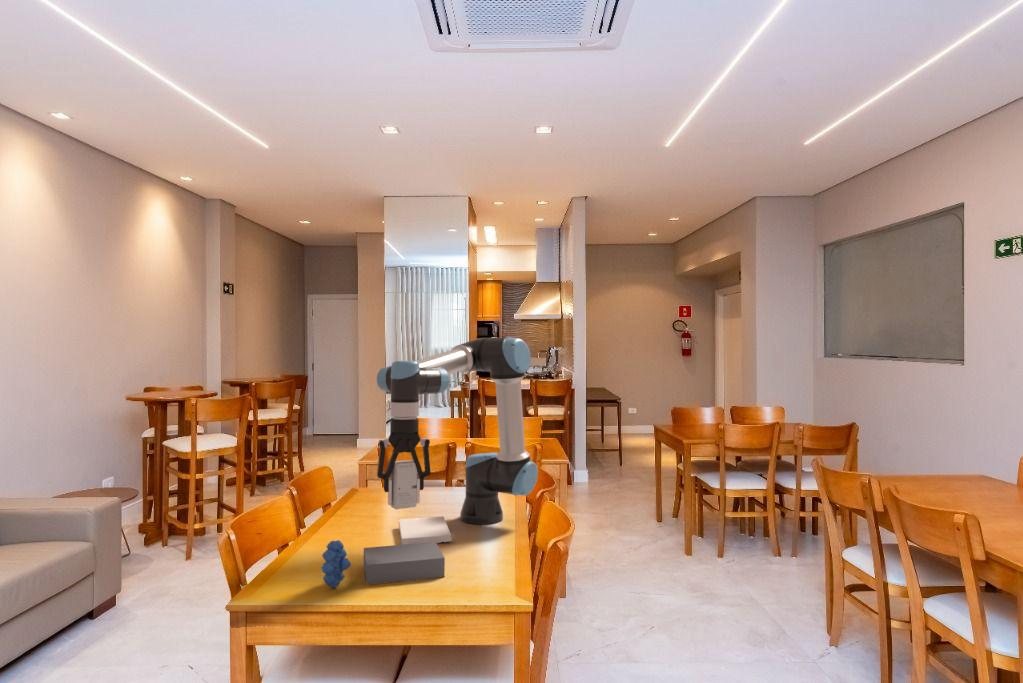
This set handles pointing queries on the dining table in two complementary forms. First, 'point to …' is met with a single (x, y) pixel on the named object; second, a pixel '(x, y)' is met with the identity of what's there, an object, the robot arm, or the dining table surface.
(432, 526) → the food packaging
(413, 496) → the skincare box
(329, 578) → the grapes
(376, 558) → the block
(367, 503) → the dining table surface
